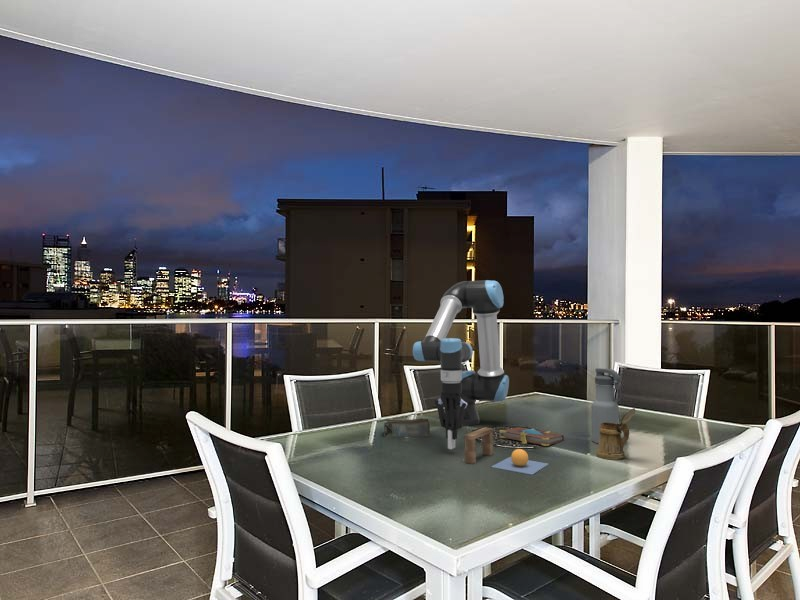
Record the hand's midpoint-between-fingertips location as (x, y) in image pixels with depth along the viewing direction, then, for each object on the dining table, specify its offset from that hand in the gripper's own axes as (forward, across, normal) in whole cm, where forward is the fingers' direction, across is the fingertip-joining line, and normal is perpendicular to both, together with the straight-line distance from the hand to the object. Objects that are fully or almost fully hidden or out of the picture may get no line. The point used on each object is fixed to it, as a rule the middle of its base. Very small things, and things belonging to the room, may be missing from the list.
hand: (451, 448), depth 190 cm
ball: (-1, +26, 0) cm, 26 cm away
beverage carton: (+2, -30, +14) cm, 33 cm away
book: (+3, +13, +36) cm, 38 cm away
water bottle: (+2, +40, +48) cm, 63 cm away
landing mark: (+2, +26, 0) cm, 26 cm away
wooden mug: (+2, +49, +28) cm, 56 cm away
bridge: (+2, +11, 0) cm, 11 cm away
